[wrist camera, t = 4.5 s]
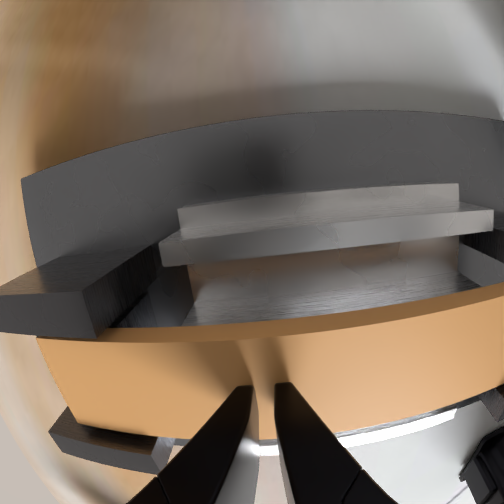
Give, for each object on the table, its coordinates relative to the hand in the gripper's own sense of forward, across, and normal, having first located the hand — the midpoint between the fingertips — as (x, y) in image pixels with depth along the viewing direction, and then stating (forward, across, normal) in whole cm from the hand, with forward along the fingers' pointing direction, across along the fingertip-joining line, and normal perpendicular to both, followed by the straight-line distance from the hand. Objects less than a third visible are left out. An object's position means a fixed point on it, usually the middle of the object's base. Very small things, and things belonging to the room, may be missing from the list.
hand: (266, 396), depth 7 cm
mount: (+5, -1, 0) cm, 6 cm away
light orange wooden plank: (+1, -2, 0) cm, 2 cm away
